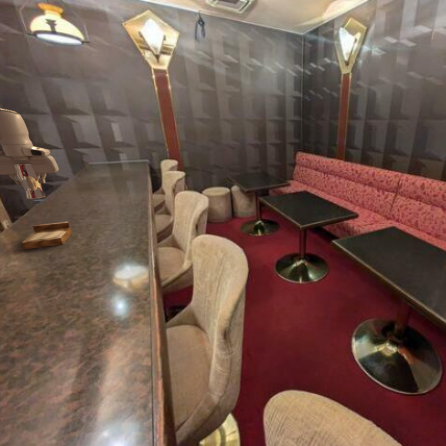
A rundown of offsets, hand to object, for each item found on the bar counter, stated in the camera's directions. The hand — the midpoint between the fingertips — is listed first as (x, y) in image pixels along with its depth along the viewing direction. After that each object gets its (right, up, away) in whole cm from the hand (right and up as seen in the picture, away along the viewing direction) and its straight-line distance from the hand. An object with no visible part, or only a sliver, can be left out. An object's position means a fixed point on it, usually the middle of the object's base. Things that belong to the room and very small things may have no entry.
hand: (31, 183), depth 108 cm
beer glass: (0, -6, +2) cm, 6 cm away
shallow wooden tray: (+7, -25, +1) cm, 26 cm away
